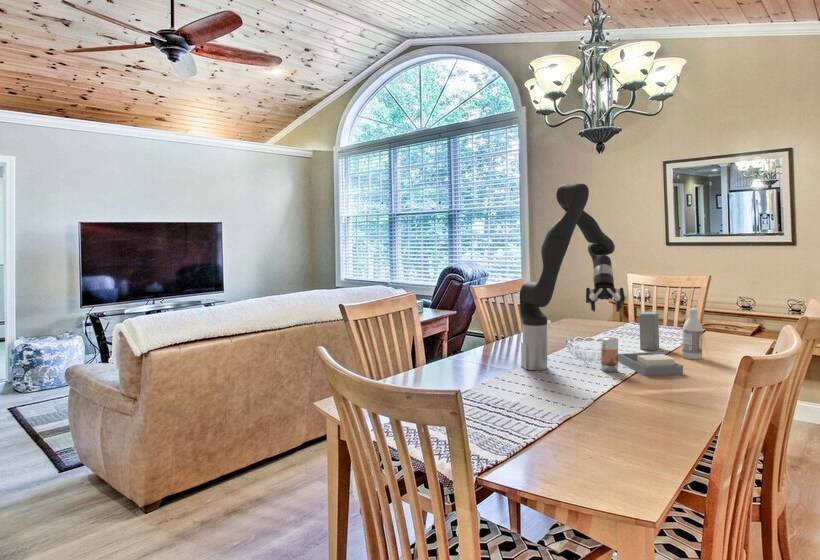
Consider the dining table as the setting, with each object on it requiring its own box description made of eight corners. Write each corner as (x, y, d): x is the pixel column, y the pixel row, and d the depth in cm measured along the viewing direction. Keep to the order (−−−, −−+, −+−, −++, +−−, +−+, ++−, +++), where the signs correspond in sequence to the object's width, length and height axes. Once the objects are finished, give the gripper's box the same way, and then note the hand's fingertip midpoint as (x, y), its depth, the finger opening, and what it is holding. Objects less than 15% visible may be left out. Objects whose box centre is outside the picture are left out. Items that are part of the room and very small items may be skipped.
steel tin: (605, 376, 182) (605, 340, 181) (598, 371, 188) (598, 337, 187) (620, 375, 183) (621, 339, 182) (613, 370, 188) (613, 336, 187)
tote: (644, 378, 178) (644, 367, 178) (617, 363, 198) (617, 353, 198) (682, 376, 179) (683, 365, 179) (652, 362, 199) (652, 352, 198)
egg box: (647, 373, 180) (647, 360, 180) (637, 368, 187) (637, 355, 187) (674, 372, 181) (674, 358, 180) (663, 367, 188) (663, 354, 187)
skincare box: (655, 351, 216) (656, 314, 214) (637, 349, 220) (638, 313, 219) (659, 347, 223) (660, 311, 221) (642, 345, 227) (643, 310, 225)
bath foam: (698, 360, 199) (700, 310, 197) (679, 357, 204) (681, 309, 202) (704, 357, 204) (705, 308, 202) (685, 354, 209) (687, 306, 207)
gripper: (585, 272, 204) (586, 304, 195) (623, 272, 201) (626, 305, 191) (584, 283, 210) (586, 316, 200) (621, 283, 206) (624, 316, 196)
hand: (605, 310), depth 196 cm, fingers open, 8 cm apart
